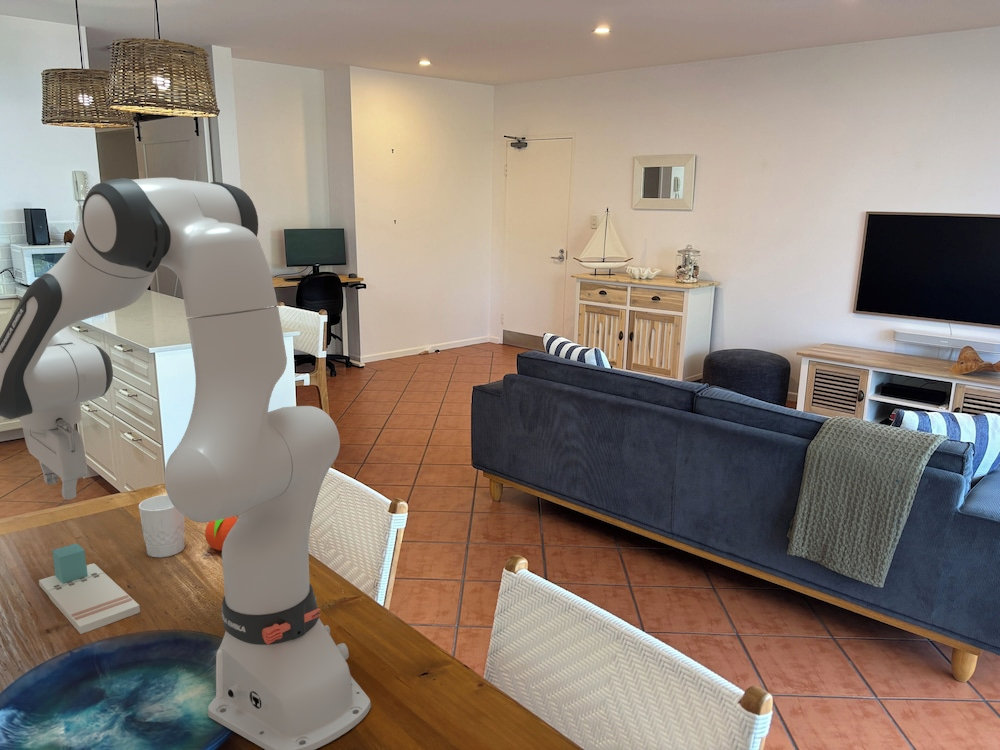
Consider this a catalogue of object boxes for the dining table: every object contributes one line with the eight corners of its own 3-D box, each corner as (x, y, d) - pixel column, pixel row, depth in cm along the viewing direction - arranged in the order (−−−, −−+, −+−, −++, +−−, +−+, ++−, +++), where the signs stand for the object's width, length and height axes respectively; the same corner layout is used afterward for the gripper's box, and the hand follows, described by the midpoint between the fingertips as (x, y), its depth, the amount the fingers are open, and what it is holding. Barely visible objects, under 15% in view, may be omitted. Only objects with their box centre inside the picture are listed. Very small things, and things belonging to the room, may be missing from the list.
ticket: (140, 612, 122) (139, 604, 121) (80, 634, 115) (79, 626, 115) (105, 579, 132) (104, 572, 132) (49, 597, 126) (48, 590, 125)
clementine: (234, 559, 140) (232, 524, 139) (198, 559, 140) (195, 524, 139) (248, 541, 148) (246, 508, 146) (214, 540, 148) (211, 507, 146)
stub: (104, 577, 132) (100, 546, 131) (48, 595, 126) (43, 563, 125) (94, 568, 136) (91, 537, 134) (39, 585, 129) (35, 553, 128)
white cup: (195, 542, 147) (191, 495, 145) (174, 560, 140) (169, 511, 137) (157, 540, 148) (153, 493, 146) (135, 558, 140) (129, 509, 138)
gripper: (92, 422, 119) (101, 502, 122) (52, 398, 133) (61, 471, 136) (49, 430, 115) (59, 512, 118) (12, 405, 128) (22, 479, 132)
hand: (60, 490), depth 127 cm, fingers open, 8 cm apart
